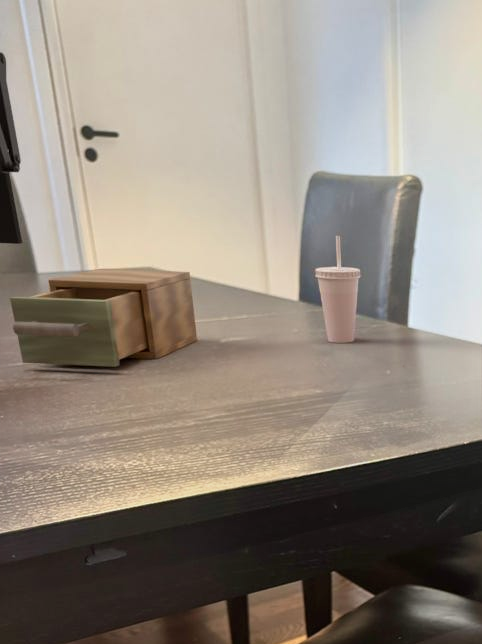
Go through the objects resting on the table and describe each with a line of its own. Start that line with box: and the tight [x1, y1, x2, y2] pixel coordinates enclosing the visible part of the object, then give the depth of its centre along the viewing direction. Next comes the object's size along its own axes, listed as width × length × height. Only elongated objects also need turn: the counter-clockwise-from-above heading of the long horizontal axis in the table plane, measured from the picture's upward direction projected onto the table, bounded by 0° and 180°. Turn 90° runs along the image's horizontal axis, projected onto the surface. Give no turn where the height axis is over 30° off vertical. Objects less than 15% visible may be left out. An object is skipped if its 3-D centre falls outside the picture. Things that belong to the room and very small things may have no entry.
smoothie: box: [314, 235, 362, 344], centre depth 129 cm, size 6×6×14 cm
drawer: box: [9, 287, 149, 368], centre depth 110 cm, size 18×11×7 cm, turn 175°
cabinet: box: [47, 268, 198, 360], centre depth 121 cm, size 15×13×9 cm
